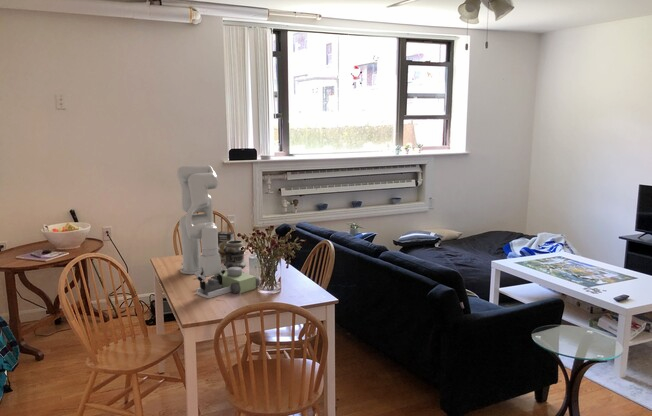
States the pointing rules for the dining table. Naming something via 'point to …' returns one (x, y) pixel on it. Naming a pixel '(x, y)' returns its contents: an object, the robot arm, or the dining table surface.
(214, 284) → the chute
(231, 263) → the apothecary jar
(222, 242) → the coffee box
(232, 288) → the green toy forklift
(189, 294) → the dining table surface
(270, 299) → the dining table surface
